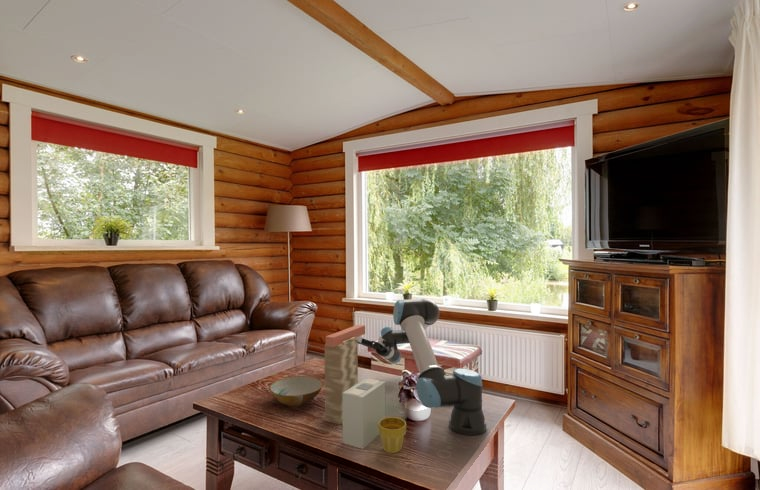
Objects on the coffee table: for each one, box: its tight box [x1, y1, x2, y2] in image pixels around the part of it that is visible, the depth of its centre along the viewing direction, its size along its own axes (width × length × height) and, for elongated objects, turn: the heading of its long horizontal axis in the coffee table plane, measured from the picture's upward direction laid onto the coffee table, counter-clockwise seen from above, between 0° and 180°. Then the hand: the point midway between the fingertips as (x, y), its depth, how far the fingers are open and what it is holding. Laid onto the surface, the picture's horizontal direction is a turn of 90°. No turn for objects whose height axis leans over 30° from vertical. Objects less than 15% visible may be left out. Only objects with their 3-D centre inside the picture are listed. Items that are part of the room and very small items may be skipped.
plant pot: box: [379, 416, 407, 454], centre depth 150 cm, size 10×10×10 cm
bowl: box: [268, 375, 324, 407], centre depth 193 cm, size 25×25×8 cm
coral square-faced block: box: [325, 324, 366, 347], centre depth 181 cm, size 26×4×4 cm, turn 151°
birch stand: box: [323, 337, 359, 426], centre depth 178 cm, size 15×9×34 cm, turn 151°
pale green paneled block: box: [342, 377, 386, 450], centre depth 160 cm, size 18×9×20 cm, turn 151°
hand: (366, 337), depth 197 cm, fingers open, 13 cm apart
